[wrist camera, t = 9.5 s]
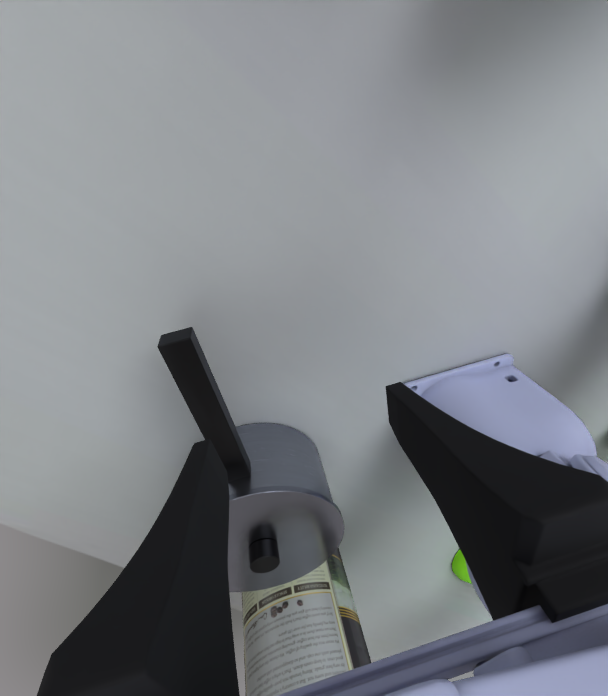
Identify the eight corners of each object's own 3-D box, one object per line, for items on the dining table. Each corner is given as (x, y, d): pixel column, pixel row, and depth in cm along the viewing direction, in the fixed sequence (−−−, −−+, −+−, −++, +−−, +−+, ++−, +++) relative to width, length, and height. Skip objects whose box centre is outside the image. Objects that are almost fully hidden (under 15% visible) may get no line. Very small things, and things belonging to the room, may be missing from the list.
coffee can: (355, 528, 36) (419, 715, 24) (300, 580, 39) (333, 767, 28) (274, 508, 32) (304, 726, 20) (220, 568, 35) (218, 786, 23)
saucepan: (278, 277, 20) (303, 338, 14) (331, 492, 32) (358, 578, 26) (85, 328, 20) (18, 416, 13) (212, 528, 31) (208, 627, 25)
